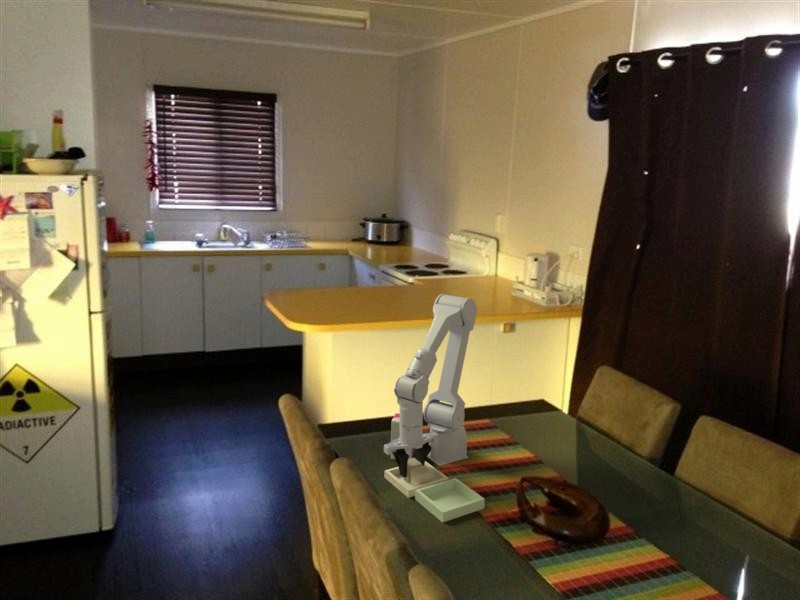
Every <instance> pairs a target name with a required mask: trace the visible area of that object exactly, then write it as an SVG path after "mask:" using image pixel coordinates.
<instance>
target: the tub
mask: <svg viewBox="0 0 800 600" xmlns="http://www.w3.org/2000/svg"><path fill="white" fill-rule="evenodd" d="M414 500H416V502H418V504H420V505H421V506H422V507H424V508H425V510H427V512H429V513H430V514H432V515H433V516H434V517H435V518H436V519H437V520H439V521H440V522H441V523H445V522H449V521H452V520H454V519H457V518H461V517H463V516H466V515H469V514H472V513H475V512H478V511H482V510H484V509H485V498H484V497H483V496H481V495H480V494H479V493H477V492H476V491H475V490H473V489H471V487H469V486H468V485H466V484H465V483H463V482H462V481H461V480H460V479H458V477H457V478H456V477H454V478H453V477H452V478H451V479H450V478H449V480H447V481H444V482H440V483H437V484H434V485H430V486H427V487H424V488H420V489H417V490H415V496H414Z"/></svg>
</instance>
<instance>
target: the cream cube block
mask: <svg viewBox="0 0 800 600" xmlns="http://www.w3.org/2000/svg"><path fill="white" fill-rule="evenodd" d="M421 466H422V463H420V462H419V461H418V460H416V459H415V457H412V458H410V459H408V463H407V476H406V477H405V478H404V477H402V476H401V475H400V476H401V477H402V478H403V479H405V480H406V481H407V482H408V483H409V482H411V469H414V468H417V467H421Z"/></svg>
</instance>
